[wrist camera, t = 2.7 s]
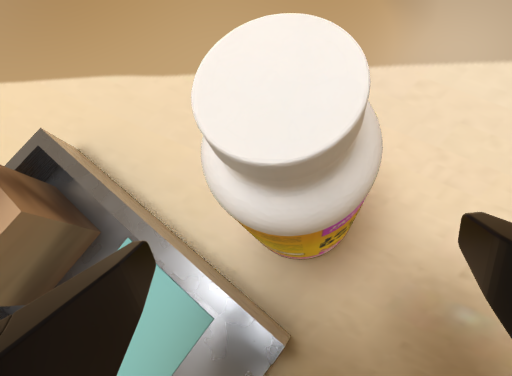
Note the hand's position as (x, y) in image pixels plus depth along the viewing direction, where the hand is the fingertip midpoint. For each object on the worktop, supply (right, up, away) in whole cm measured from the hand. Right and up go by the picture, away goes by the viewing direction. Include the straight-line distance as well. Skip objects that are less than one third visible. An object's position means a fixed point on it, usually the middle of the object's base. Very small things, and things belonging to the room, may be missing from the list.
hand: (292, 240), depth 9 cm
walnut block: (-16, -2, +13) cm, 21 cm away
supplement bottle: (+2, 0, +11) cm, 11 cm away
